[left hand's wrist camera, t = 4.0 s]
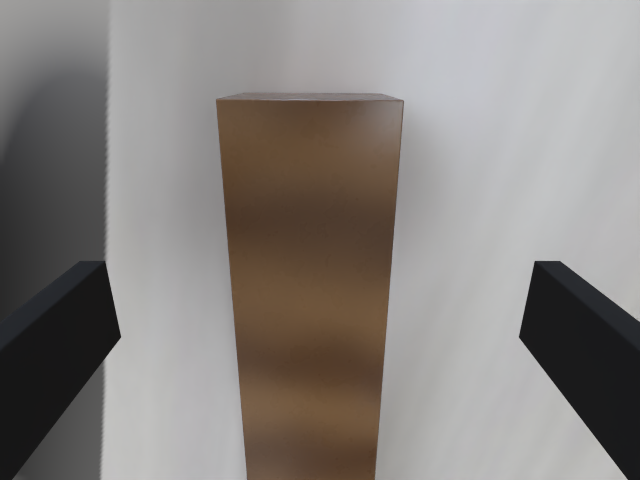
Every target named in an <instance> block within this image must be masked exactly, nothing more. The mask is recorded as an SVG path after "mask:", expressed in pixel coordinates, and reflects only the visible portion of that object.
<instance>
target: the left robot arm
mask: <svg viewBox="0 0 640 480" xmlns="http://www.w3.org/2000/svg"><path fill="white" fill-rule="evenodd" d="M120 338H121V334H120V330H119V325H118V320H117V315H116V311H115V306H114V301H113V296H112V291H111V287H110V282H109V277H108V272H107V268H106V263H105V261H79V262H78V263H77V264H76V265H74V266H73V267H72V268H70V269H69V270H68V271H66V272H65V273H64V274H63V275H61V276H60V277H59V278H57V279H56V280H55V281H53V282H52V283H51V284H49V285H48V286H47V287H46V288H44V289H43V290H42V291H40V292H39V293H38V294H36V295H35V296H34V297H32V298H31V299H30V300H29V301H27V302H26V303H25V304H23V305H22V306H21V307H19V308H18V309H17V310H16V311H14V312H13V313H12V314H10V315H9V316H8V317H6V318H5V319H4V320H2V321H1V322H0V480H12V479H13V478H14V476H15V475H16V474H17V473H18V471H19V470H20V469H21V467H22V466H23V465H24V463H25V462H26V461H27V460H28V458H29V457H30V456H31V454H32V453H33V452H34V450H35V449H36V448H37V446H38V445H39V444H40V443H41V441H42V440H43V439H44V437H45V436H46V435H47V433H48V432H49V431H50V429H51V428H52V427H53V425H54V424H55V423H56V422H57V420H58V419H59V418H60V416H61V415H62V414H63V412H64V411H65V410H66V408H67V407H68V406H69V405H70V403H71V402H72V401H73V399H74V398H75V397H76V395H77V394H78V393H79V392H80V390H81V389H82V388H83V386H84V385H85V384H86V382H87V381H88V380H89V379H90V377H91V376H92V375H93V373H94V372H95V371H96V369H97V368H98V367H99V365H100V364H101V363H102V362H103V360H104V359H105V358H106V356H107V355H108V354H109V352H110V351H111V350H112V348H113V347H114V346H115V345H116V343H117V342H118V341H119V339H120ZM519 338H520V339H521V341H522V342H523V343H524V345H525V346H526V347H527V348H528V350H529V351H530V352H531V354H532V355H533V356H534V358H535V359H536V360H537V362H538V363H539V364H540V365H541V367H542V368H543V369H544V371H545V372H546V373H547V375H548V376H549V377H550V379H551V380H552V381H553V382H554V384H555V385H556V386H557V388H558V389H559V390H560V392H561V393H562V394H563V395H564V397H565V398H566V399H567V401H568V402H569V403H570V405H571V406H572V407H573V409H574V410H575V411H576V412H577V414H578V415H579V416H580V418H581V419H582V420H583V422H584V423H585V424H586V426H587V427H588V428H589V429H590V431H591V432H592V433H593V435H594V436H595V437H596V439H597V440H598V441H599V443H600V444H601V445H602V446H603V448H604V449H605V450H606V452H607V453H608V454H609V456H610V457H611V458H612V460H613V461H614V462H615V463H616V465H617V466H618V467H619V469H620V470H621V471H622V473H623V474H624V475H625V476H626V478H627V479H628V480H640V322H639V321H638V320H636V319H635V318H634V317H632V316H631V315H630V314H628V313H627V312H626V311H625V310H623V309H622V308H621V307H619V306H618V305H617V304H615V303H614V302H613V301H611V300H610V299H609V298H608V297H606V296H605V295H604V294H602V293H601V292H600V291H598V290H597V289H596V288H594V287H593V286H592V285H591V284H589V283H588V282H587V281H585V280H584V279H583V278H581V277H580V276H579V275H577V274H576V273H575V272H574V271H572V270H571V269H570V268H568V267H567V266H566V265H564V264H563V263H562V262H561V261H535V263H534V268H533V272H532V277H531V282H530V287H529V291H528V296H527V301H526V306H525V311H524V315H523V320H522V325H521V330H520V334H519Z"/></svg>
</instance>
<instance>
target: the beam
mask: <svg viewBox="0 0 640 480" xmlns="http://www.w3.org/2000/svg"><path fill="white" fill-rule="evenodd" d="M216 105H217V117H218V129H219V141H220V154H221V166H222V178H223V190H224V202H225V214H226V226H227V239H228V251H229V263H230V275H231V287H232V299H233V311H234V324H235V336H236V348H237V360H238V372H239V384H240V397H241V409H242V421H243V433H244V445H245V457H246V469H247V480H375V469H376V456H377V443H378V430H379V417H380V404H381V391H382V378H383V365H384V352H385V339H386V326H387V313H388V300H389V288H390V275H391V262H392V249H393V236H394V223H395V210H396V197H397V184H398V171H399V158H400V145H401V132H402V119H403V106H404V101H403V100H400V99H397V98H394V97H390V96H387V95H383V94H333V93H242V94H237V95H233V96H228V97H224V98H219V99H216Z"/></svg>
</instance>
